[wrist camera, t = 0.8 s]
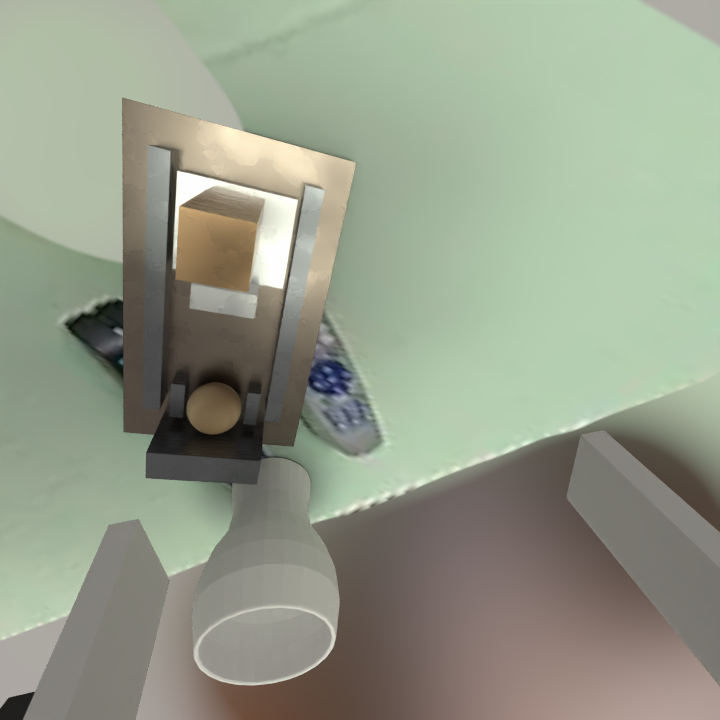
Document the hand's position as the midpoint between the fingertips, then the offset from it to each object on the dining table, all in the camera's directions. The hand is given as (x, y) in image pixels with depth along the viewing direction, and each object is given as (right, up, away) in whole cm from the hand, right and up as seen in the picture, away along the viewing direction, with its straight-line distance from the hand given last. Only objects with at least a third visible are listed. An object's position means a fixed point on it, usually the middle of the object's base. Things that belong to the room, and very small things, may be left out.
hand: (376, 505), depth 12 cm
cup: (-9, -8, +29) cm, 31 cm away
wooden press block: (-9, +12, +15) cm, 22 cm away
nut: (-12, +2, +21) cm, 24 cm away
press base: (-11, +9, +19) cm, 24 cm away
